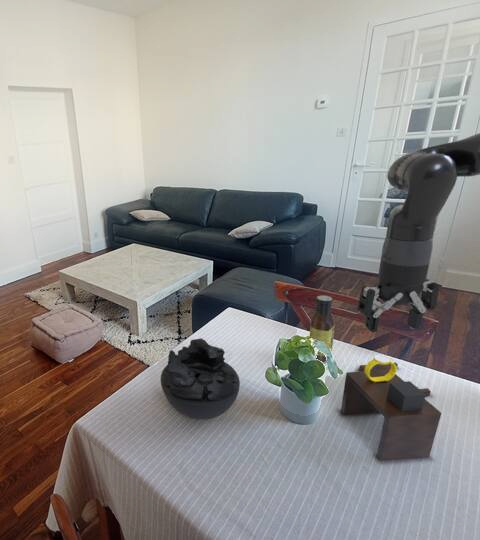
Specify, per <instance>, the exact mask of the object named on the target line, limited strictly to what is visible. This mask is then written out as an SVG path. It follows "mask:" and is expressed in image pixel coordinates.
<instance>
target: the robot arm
mask: <svg viewBox="0 0 480 540" xmlns="http://www.w3.org/2000/svg"><path fill="white" fill-rule="evenodd" d="M386 175H387V181H388V183H389V184H390V185H391V187H393V188H395V189H397V190H398V191H403V192H406V193H407V194H406V197H405V199H404V202H403V204H400V205H397V206H394V208H392V209H391V211H390V213H389V216H388V222H387V228H386V234H385V238H384V242H383V244H382V250H381V255H380V261H379V262H380V263H379V269H378V275H377V276H378V279H379V280H378V284H377V285H376V286H373V287H371V286H370V287H369V286H368V285H363V286H362V287H361V289H360V293H359V299H358V304H357V311H358V312H360V313H361V314H363V315H364V316H365V328H366V329H367V330H368V331H370V332H371V333H377V332H378V328H379V322H380V316H381V315H382V314H383V312H385V311H389V309H390V308H391V307H396V306H401V305H402V306H407V305H409V306H410V307H411V308H409V311H408V315H407V316H408V317H407V322H406V324H407V325H408V326H409V327H410V328H412V329H419V327H420V326H421V324H422V321H423V317H424V314H425V313H426V312H427V311H428V310H432V311H433V310H435V309H436V308H437V303H438V296H439V290H440V284H439V283H438V282H436V281H433V280H431V279H428V278H427V277H428V274H429V273H428V272H429V269H430V264H431V258H432V254H433V248H434V247H433V245H434V244H433V243H434V236H435V231H436V226H437V221H438V217H439V216H440V215H439V214H440V213H441V211H443V208H444V207H445V205H446V203H447V201H448V199H449V197H450V195H451V194H452V191H453V190H454V188H455V186H456V183H457V179H458V177H461V178H463V177H464V178H466V177H467V178H468V177H477V176H480V132H479V133H476V134H472V135H470V136H468V137H466V138H462V139H459V140H456V141H451V142H445V143H442V144H441V143H440V144H438V145H432V146H429V147H424V148H421V149H417V150H413V151H411V152H407V153H406V154H403V155H401V156H400V157H399V158H397V159H396V160H394V161H393V163H392V164H391V165H390V166H389V168H388V170H387V174H386ZM420 293H421V294H420ZM419 295H421V296H420V297H419ZM381 301H383V302H384V303H382V302H381Z"/></svg>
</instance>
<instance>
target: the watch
mask: <svg viewBox="0 0 480 540" xmlns="http://www.w3.org/2000/svg"><path fill="white" fill-rule="evenodd" d="M389 363H390V364H391V369H390V371H389V373H388V374H386V375H385V376H381V377H373V378H372V377H370V375H369V374H370V370H371V369H372V367H373V366H374V365H376V364H383V365H386V364H389ZM365 365H366V366H365V370H364V372H365V374H366V376H367V377H368V378H369V379H370V380H371V381H373V382H381V381H389V380H390V379H391V378H393V377H394V375H395V374H396V375H397V371H398V366H397V367H396V365H395V364H394V362H393V361H392V360H391V359H390V358H389V357H388V356H386V355H382V354H375V355H374V356H373V359H372V360H370V361H368V362H367V364H365Z"/></svg>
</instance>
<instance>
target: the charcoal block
mask: <svg viewBox="0 0 480 540" xmlns="http://www.w3.org/2000/svg"><path fill="white" fill-rule="evenodd" d="M420 389H421V388H419V387H418V386H416V385H415V384H414V383H413V382H411V380H408V381H404V382H395V383H390V386H389V391H388V395H387V399H389V400H390V401H391V402H392V403H393V404H394V405H395V406H396V407H397V408H398V409H399V410H400V411H401V412H407V411H420V410H422V407H423V403H424V399H426V396H425V395H426V394H424V393H423V392H422V391H421V390H420Z"/></svg>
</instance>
